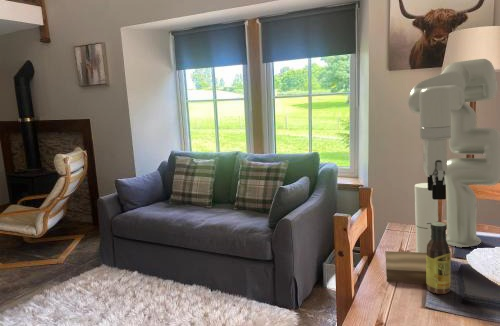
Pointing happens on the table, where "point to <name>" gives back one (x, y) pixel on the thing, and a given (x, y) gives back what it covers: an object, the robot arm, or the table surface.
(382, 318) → the table surface
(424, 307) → the table surface
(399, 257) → the walnut plinth
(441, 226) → the sauce bottle
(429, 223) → the cylindrical container
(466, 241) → the robot arm
